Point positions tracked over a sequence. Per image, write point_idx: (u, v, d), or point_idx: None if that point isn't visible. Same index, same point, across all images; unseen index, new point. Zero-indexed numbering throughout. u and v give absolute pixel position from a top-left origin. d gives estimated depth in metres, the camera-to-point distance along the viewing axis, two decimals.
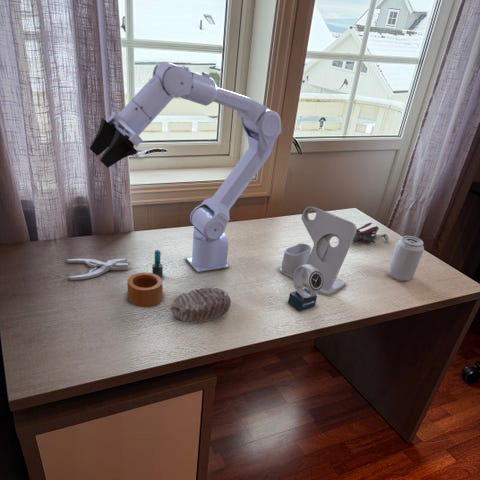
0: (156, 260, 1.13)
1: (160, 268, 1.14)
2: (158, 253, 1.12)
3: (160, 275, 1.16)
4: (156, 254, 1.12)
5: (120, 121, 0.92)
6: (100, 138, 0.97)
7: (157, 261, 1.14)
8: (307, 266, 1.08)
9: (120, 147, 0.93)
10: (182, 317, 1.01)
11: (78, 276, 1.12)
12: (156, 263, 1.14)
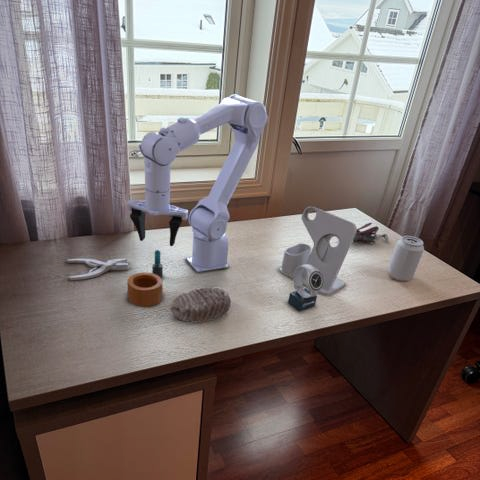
0: (156, 260, 1.13)
1: (160, 268, 1.14)
2: (158, 253, 1.12)
3: (160, 275, 1.16)
4: (156, 254, 1.12)
5: (162, 213, 1.04)
6: (141, 228, 1.09)
7: (157, 261, 1.14)
8: (307, 266, 1.08)
9: None
10: (182, 317, 1.01)
11: (78, 276, 1.12)
12: (156, 263, 1.14)
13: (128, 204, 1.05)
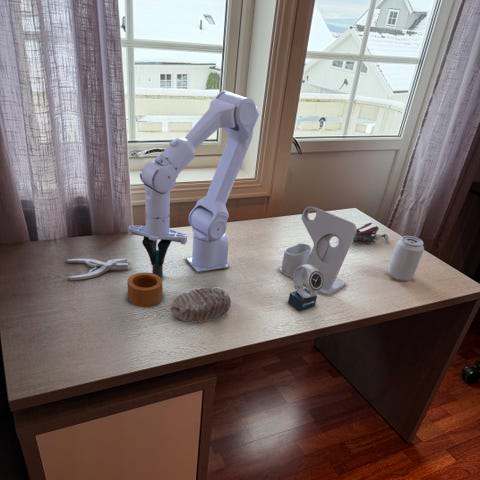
0: (156, 260, 1.13)
1: (160, 268, 1.14)
2: (158, 253, 1.12)
3: (160, 275, 1.16)
4: (156, 254, 1.12)
5: (162, 238, 1.07)
6: (153, 253, 1.12)
7: (157, 261, 1.14)
8: (307, 266, 1.08)
9: None
10: (182, 317, 1.01)
11: (78, 276, 1.12)
12: (156, 263, 1.14)
13: (129, 229, 1.09)
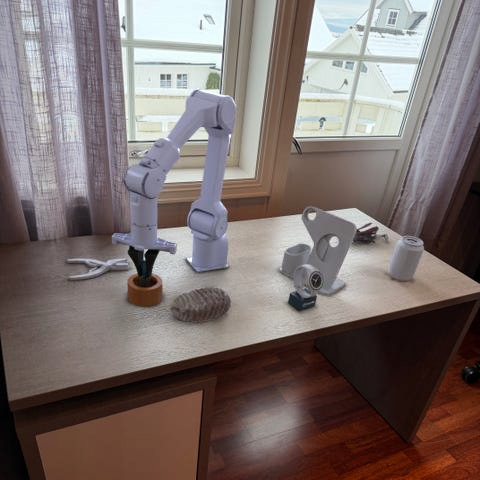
0: (143, 271, 1.04)
1: (148, 280, 1.05)
2: (145, 264, 1.03)
3: None
4: (143, 265, 1.03)
5: (149, 248, 0.98)
6: (140, 264, 1.03)
7: (144, 272, 1.04)
8: (307, 266, 1.08)
9: None
10: (182, 317, 1.01)
11: (78, 276, 1.12)
12: (144, 274, 1.04)
13: (113, 237, 1.00)
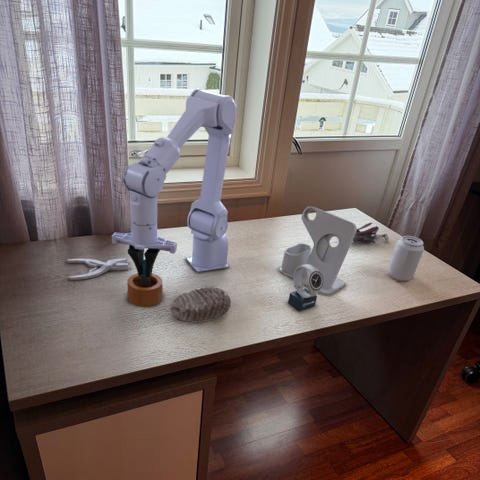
0: (143, 270, 1.04)
1: (148, 279, 1.05)
2: (145, 263, 1.03)
3: (148, 286, 1.06)
4: (143, 264, 1.03)
5: (149, 247, 0.98)
6: (140, 263, 1.03)
7: (144, 271, 1.04)
8: (307, 266, 1.08)
9: None
10: (182, 317, 1.01)
11: (78, 276, 1.12)
12: (144, 273, 1.04)
13: (113, 237, 1.00)
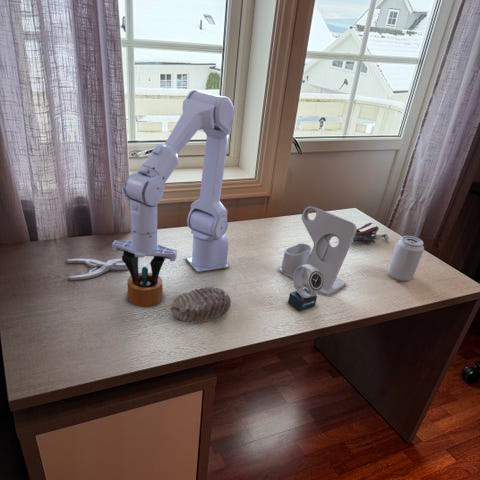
0: (143, 278, 1.05)
1: (148, 286, 1.06)
2: (145, 270, 1.04)
3: None
4: (143, 271, 1.04)
5: (149, 255, 0.99)
6: (134, 269, 1.04)
7: (144, 279, 1.05)
8: (307, 266, 1.08)
9: None
10: (182, 317, 1.01)
11: (78, 276, 1.12)
12: (144, 280, 1.05)
13: (114, 244, 1.01)
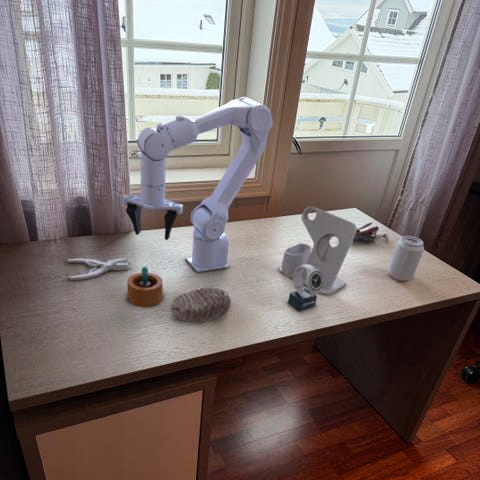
0: (143, 278, 1.05)
1: (148, 286, 1.06)
2: (145, 270, 1.04)
3: None
4: (143, 271, 1.04)
5: (157, 207, 1.06)
6: (137, 222, 1.11)
7: (144, 279, 1.05)
8: (307, 266, 1.08)
9: None
10: (182, 317, 1.01)
11: (78, 276, 1.12)
12: (144, 280, 1.05)
13: (124, 198, 1.08)
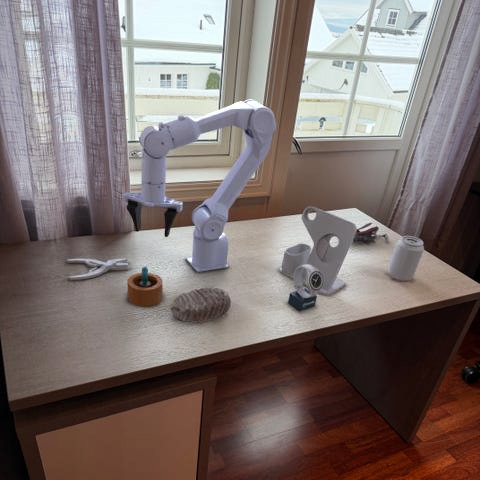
0: (143, 278, 1.05)
1: (148, 286, 1.06)
2: (145, 270, 1.04)
3: None
4: (143, 271, 1.04)
5: (157, 205, 1.08)
6: (137, 219, 1.12)
7: (144, 279, 1.05)
8: (307, 266, 1.08)
9: None
10: (182, 317, 1.01)
11: (78, 276, 1.12)
12: (144, 280, 1.05)
13: (125, 195, 1.09)
